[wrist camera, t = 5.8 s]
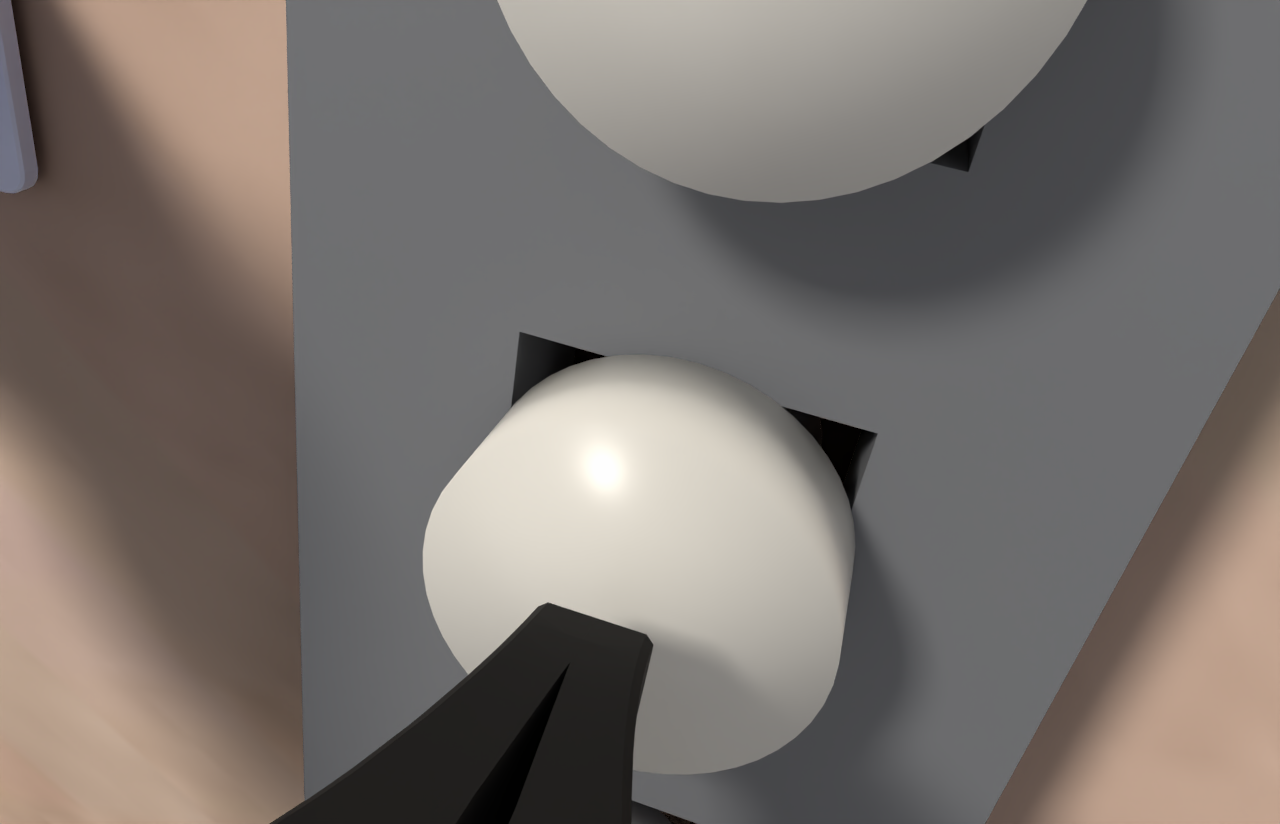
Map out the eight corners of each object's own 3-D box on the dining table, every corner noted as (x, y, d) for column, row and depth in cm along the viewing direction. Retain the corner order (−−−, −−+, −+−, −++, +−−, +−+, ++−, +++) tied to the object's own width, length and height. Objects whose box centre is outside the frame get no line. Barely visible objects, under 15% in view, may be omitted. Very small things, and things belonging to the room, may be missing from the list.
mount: (375, 768, 24) (306, 872, 21) (419, -552, 12) (270, -672, 9) (855, 945, 22) (842, 1083, 20) (1517, -403, 10) (1714, -500, 7)
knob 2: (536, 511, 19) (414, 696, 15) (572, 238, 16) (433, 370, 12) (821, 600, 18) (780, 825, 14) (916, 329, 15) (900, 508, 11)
